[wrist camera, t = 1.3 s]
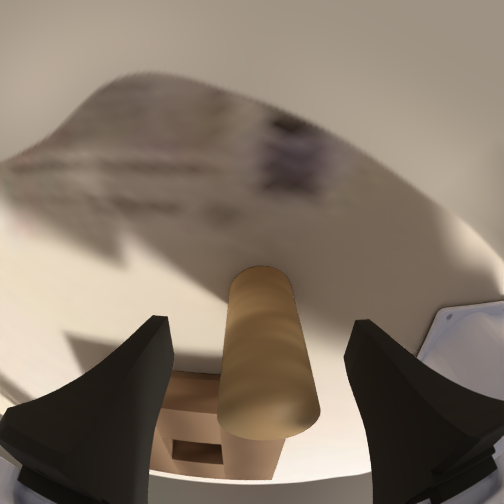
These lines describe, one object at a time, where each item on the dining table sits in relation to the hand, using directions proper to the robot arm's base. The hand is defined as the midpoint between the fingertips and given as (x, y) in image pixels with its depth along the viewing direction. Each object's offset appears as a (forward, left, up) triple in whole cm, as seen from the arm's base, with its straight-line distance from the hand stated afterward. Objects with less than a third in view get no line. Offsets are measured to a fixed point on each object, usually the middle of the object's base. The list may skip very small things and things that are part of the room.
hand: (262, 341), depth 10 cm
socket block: (+4, +12, -3) cm, 13 cm away
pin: (0, 0, -4) cm, 4 cm away
